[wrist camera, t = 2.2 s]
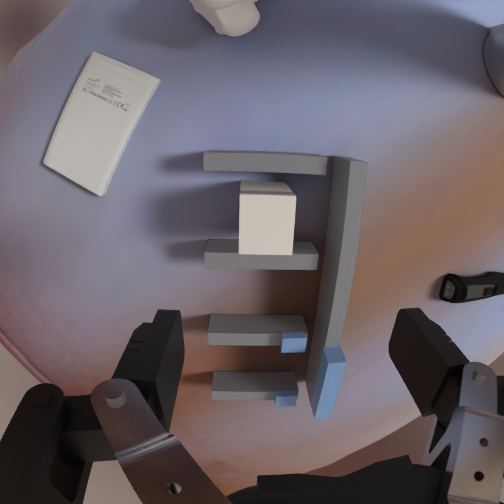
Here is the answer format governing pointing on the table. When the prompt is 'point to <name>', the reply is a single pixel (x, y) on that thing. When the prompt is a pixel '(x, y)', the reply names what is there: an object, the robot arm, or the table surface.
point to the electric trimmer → (471, 287)
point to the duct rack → (303, 258)
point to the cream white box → (266, 218)
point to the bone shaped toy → (229, 15)
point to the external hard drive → (99, 121)
